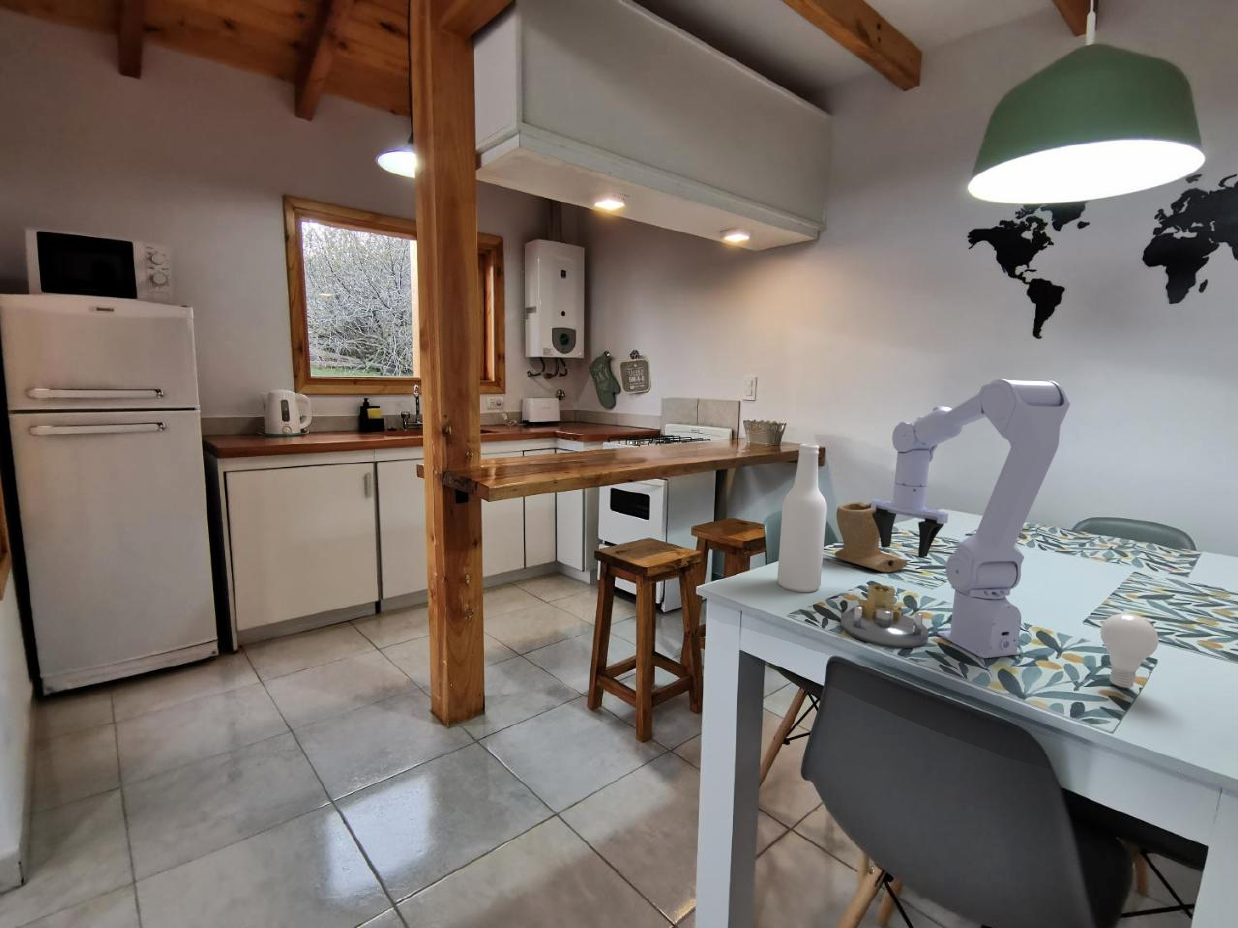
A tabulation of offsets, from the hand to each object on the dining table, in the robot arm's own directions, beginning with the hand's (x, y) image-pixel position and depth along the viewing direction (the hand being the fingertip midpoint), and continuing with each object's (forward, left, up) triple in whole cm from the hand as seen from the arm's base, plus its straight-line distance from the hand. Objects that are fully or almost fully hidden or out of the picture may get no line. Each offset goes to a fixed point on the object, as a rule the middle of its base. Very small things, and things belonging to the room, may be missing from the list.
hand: (903, 551), depth 119 cm
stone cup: (+21, -8, -10) cm, 25 cm away
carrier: (-12, +14, -10) cm, 21 cm away
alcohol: (+11, +16, -10) cm, 22 cm away
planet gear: (-8, +11, -9) cm, 16 cm away
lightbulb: (-37, -7, -10) cm, 39 cm away
